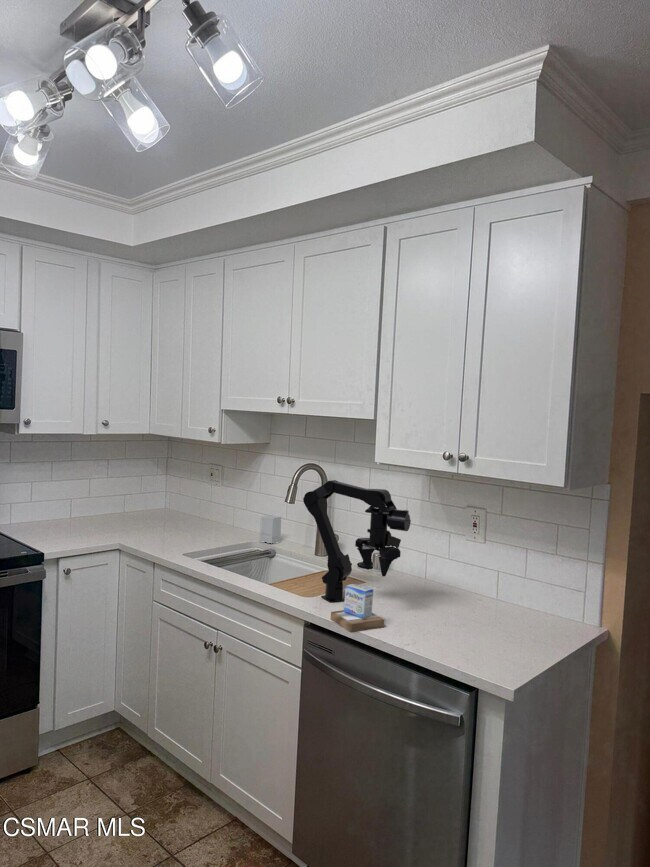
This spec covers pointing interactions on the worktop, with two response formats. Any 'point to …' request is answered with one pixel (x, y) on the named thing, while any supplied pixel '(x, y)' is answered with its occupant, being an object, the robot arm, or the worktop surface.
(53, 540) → the worktop surface
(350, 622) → the brown open-top box
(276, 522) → the supplement box
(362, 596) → the medicine box
